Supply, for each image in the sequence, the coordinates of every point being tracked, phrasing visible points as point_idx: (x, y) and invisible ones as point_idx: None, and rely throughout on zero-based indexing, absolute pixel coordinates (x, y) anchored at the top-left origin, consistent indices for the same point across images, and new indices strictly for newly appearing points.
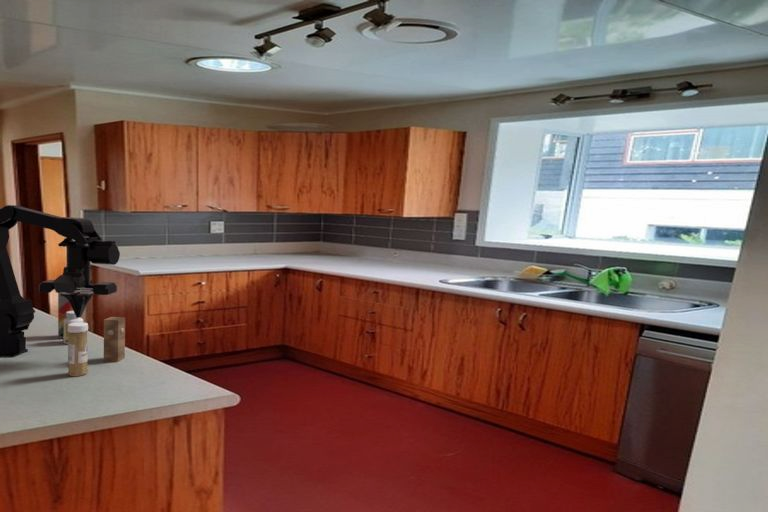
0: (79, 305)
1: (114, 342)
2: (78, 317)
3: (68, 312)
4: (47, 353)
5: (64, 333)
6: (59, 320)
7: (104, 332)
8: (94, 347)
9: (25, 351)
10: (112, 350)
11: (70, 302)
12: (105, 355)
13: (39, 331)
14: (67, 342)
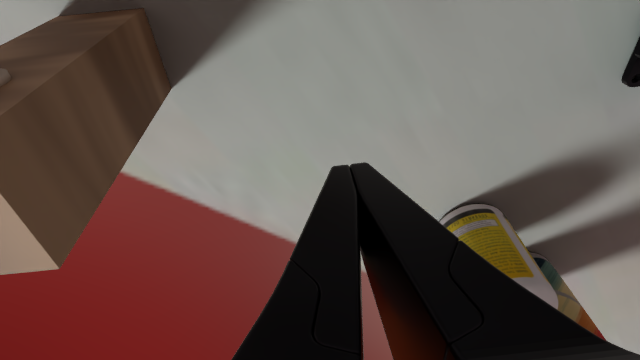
0: (318, 272)
1: (5, 54)
2: (342, 166)
3: None
4: (513, 69)
5: (516, 238)
6: (585, 318)
7: (43, 76)
8: None
9: (630, 60)
10: (55, 33)
11: (513, 295)
12: (120, 19)
13: (633, 292)
14: (482, 207)
